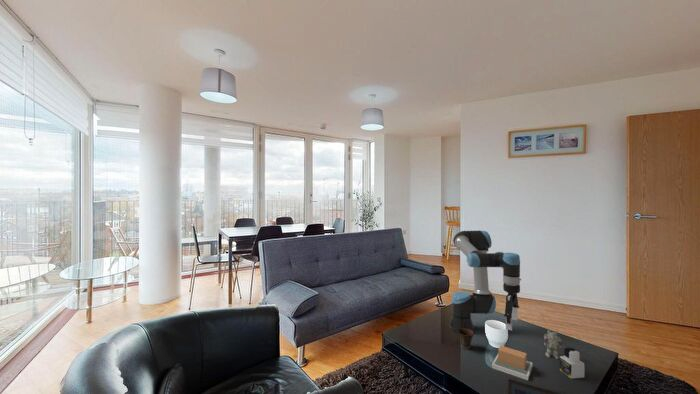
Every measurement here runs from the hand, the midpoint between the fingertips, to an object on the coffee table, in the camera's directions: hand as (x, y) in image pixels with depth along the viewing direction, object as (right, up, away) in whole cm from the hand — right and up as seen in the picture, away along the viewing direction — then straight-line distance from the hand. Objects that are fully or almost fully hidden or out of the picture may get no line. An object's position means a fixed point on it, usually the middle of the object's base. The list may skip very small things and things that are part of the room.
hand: (511, 324), depth 150 cm
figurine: (+27, -22, +9) cm, 36 cm away
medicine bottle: (+27, -22, -6) cm, 35 cm away
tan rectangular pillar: (0, -20, 0) cm, 20 cm away
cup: (-16, -22, +20) cm, 34 cm away
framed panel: (0, -22, 0) cm, 22 cm away
